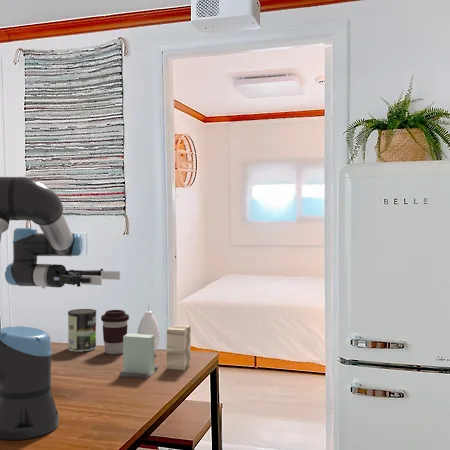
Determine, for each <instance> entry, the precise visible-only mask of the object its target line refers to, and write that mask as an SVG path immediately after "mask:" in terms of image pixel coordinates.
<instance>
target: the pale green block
mask: <svg viewBox="0 0 450 450" xmlns="http://www.w3.org/2000/svg"><path fill="white" fill-rule="evenodd" d="M154 349H155V335H146V334H137V333H130V332H129V333H128V332H127V334H126V335H124V336H123V353H122V357H123V358H122V372H130V373H142V374H148V377H149V376H152V375H153V374H155V371H154V366H155V351H154Z"/></svg>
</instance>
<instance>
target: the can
mask: <svg viewBox="0 0 450 450" xmlns="http://www.w3.org/2000/svg"><path fill="white" fill-rule="evenodd" d="M67 317H68V318H67V319H68V322H67V323H68V324H67V326H68V327H67V330H68V336H67V339H68V340H67V341H68V342H67V344H68V345H67V346H68V348H67V349H68V351H70V352H73V351H74V353H84V352H83V351H86V352H91V351H93V349H94V350H96V349H97V310H96V309H92V308H77V309H72V310H69V311H68V312H67ZM95 348H96V349H95ZM90 350H91V351H90Z"/></svg>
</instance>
